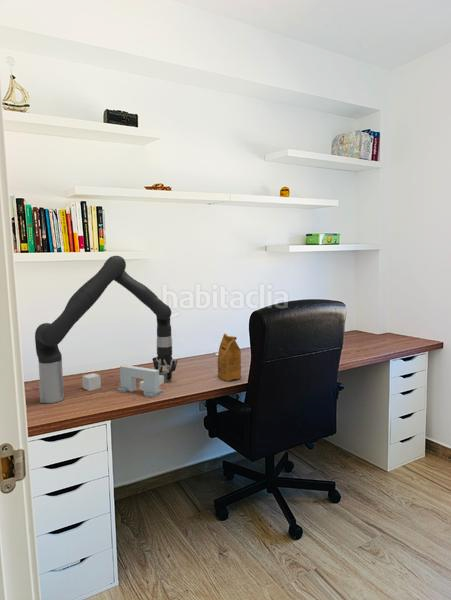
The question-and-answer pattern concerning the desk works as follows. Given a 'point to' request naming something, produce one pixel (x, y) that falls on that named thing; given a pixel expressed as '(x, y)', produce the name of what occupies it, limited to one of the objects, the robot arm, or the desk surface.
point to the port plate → (132, 372)
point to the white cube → (91, 381)
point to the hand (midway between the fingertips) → (165, 378)
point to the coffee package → (229, 359)
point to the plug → (161, 379)
